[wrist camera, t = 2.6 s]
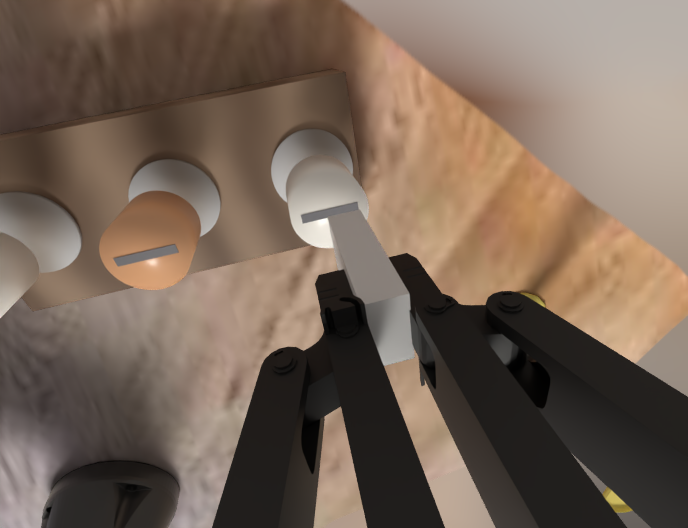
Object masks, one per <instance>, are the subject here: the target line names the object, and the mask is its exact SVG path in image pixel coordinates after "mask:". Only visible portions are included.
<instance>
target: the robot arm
mask: <svg viewBox="0 0 688 528" xmlns="http://www.w3.org/2000/svg"><path fill="white" fill-rule="evenodd" d="M327 218H328V222H329V227H330V232H331V237H332V242H333V247H334V252H335V257H336V262H337V267H338V271H334V272H330V273H326V274H322V275H319V276H318V278H317V281H316V283H315V286H316V290H317V295H318V300H319V304H320V309H321V312H320V315H321V319H322V323H323V327H324V333H323V335H322V337H321V338H320V340H319V341H318V342H317V343H316V344H314V345H313V346H311V347H310V348H308V349H306V350H304V351H303V350H301V349H299V348H297V347H285V348H280V349H278V350H276V351H274V352H272V353H271V354H270V355H269V356H268V357H267V358H266V359H265V360H264V362H263V364H262V366H261V369H260V372H259V376H258V379H257V382H256V386H255V389H254V392H253V395H252V399H251V402H250V405H249V408H248V412H247V415H246V418H245V422H244V425H243V428H242V431H241V435H240V438H239V441H238V444H237V448H236V451H235V454H234V458H233V461H232V464H231V467H230V471H229V474H228V477H227V480H226V484H225V487H224V490H223V494H222V497H221V500H220V503H219V507H218V510H217V513H216V516H215V520H214V523H213V526H212V528H313V526H314V517H315V507H316V497H317V487H318V478H319V468H320V458H321V449H322V439H323V429H324V420H325V419H324V416H326V415H327V414H329V413H331V412H332V411H334V410H335V409H337V408H339V407H340V406H341V408H342V413H343V417H344V422H345V427H346V431H347V436H348V440H349V445H350V450H351V454H352V459H353V463H354V468H355V473H356V477H357V482H358V486H359V491H360V496H361V500H362V505H363V509H364V513H365V518H366V523H367V528H445V527H444V524H443V521H442V519H441V516H440V513H439V511H438V508H437V506H436V503H435V500H434V498H433V495H432V492H431V490H430V487H429V484H428V482H427V479H426V476H425V474H424V471H423V468H422V466H421V463H420V460H419V458H418V455H417V453H416V450H415V447H414V445H413V442H412V439H411V437H410V434H409V431H408V429H407V426H406V423H405V421H404V418H403V416H402V413H401V410H400V408H399V405H398V402H397V400H396V397H395V394H394V392H393V389H392V386H391V384H390V381H389V379H388V376H387V373H386V371H385V368H384V366H386V365H390V364H393V363H397V362H401V361H405V360H409V359H412V358H415V357H414V349H415V351H416V353H417V355H418V357H419V368H420V381H421V386H423V385H425V381H426V383H427V385H428V387H429V389H430V391H431V393H432V395H433V398H434V400H435V402H436V404H437V406H438V408H439V410H440V412H441V414H442V416H443V418H444V421H445V423H446V425H447V427H448V429H449V431H450V433H451V435H452V437H453V439H454V441H455V444H456V446H457V448H458V450H459V452H460V454H461V456H462V458H463V460H464V462H465V464H466V467H467V469H468V471H469V473H470V475H471V477H472V479H473V481H474V483H475V485H476V487H477V489H478V491H479V493H480V496H481V498H482V500H483V502H484V504H485V506H486V508H487V510H488V513H489V515H490V517H491V519H492V521H493V523H494V525H495V527H496V528H627V527H626V526H625V524H624V523H623V522H622V520H621V519H620V518H619V516H618V515H617V514H616V512H615V511H614V510H613V508H612V507H611V506H610V504H609V503H608V502H607V500H606V499H605V498H604V496H603V495H602V494H601V492H600V491H599V490H598V488H597V487H596V486H595V484H594V483H593V482H592V480H591V479H590V478H589V476H588V475H587V474H586V472H585V471H584V470H583V468H582V467H581V466H580V464H579V463H578V462H577V460H576V459H575V458H574V456H576V458H578V459H579V460H580V461H581V462H582V463H583V464H584V465H585V466H586V467H587V468H588V469H589V470H590V471H591V472H593V473H594V474H595V475H596V476H597V477H598V478H599V479H600V480H601V481H602V482H603V483H604V484H605V485H606V486H607V487H608V488H610V489H611V490H612V491H613V492H614V493H615V494H616V495H617V496H618V497H619V498H620V499H621V500H622V501H623V502H625V503H626V504H627V505H628V506H629V507H630V508H631V509H632V510H633V511H634V512H635V513H636V514H637V515H638V516H639V517H641V518H642V519H643V520H644V521H645V522H646V523H647V524H648V525H649V526H650V527H651V528H688V397H687V396H686V395H684V394H682V393H681V392H679V391H678V390H676V389H674V388H673V387H671V386H669V385H668V384H666V383H665V382H663V381H661V380H660V379H658V378H657V377H655V376H654V375H652V374H650V373H649V372H647V371H646V370H644V369H642V368H641V367H639V366H638V365H636V364H634V363H633V362H631V361H630V360H628V359H626V358H625V357H623V356H622V355H620V354H618V353H617V352H615V351H614V350H612V349H610V348H609V347H607V346H606V345H604V344H602V343H601V342H599V341H598V340H596V339H594V338H593V337H591V336H590V335H588V334H586V333H585V332H583V331H582V330H580V329H578V328H577V327H575V326H574V325H572V324H570V323H569V322H567V321H566V320H564V319H562V318H561V317H559V316H558V315H556V314H554V313H553V312H551V311H550V310H548V309H546V308H545V307H543V306H542V305H540V304H538V303H537V302H535V301H534V300H532V299H530V298H529V297H527V296H525V295H523V294H520V293H517V292H512V291H501V292H498V293H494V294H492V295H491V296H490V297H488V299H487V302H486V305H461V304H459V303H458V302H457V301H456V300H455V299H454V298H453V297H450V296H448V295H445V294H442V293H441V292H440V290H439V289H438V287H437V286H436V285H435V283H434V282H433V280H432V279H431V278H430V276H429V275H428V273H426V271H425V269H424V268H423V267H422V265H421V264H420V262H419V261H418V260H417V258H415V257H413V256H411V255H409V254H408V253H405V254H401V255H397V256H393V257H389V258H388V256H387V255H386V253H385V251H384V249H383V248H382V246H381V244H380V243H379V241H378V239H377V238H376V236H375V234H374V232H373V231H372V229H371V227H370V226H369V224H368V222H367V220H366V219H365V217H364V215H363V214H362V212H361V210H356V211H351V212H347V213H342V214H338V215H334V216H329V217H327ZM424 379H425V381H424ZM571 453H572V454H573V455H574V456H573V455H572V454H571ZM178 498H179V486H178V484H177V482H176V481H175V480H174V478H173V477H172V476H170V475H169V474H168V473H166V472H165V471H163V470H161V469H159V468H156V467H153V466H150V465H147V464H142V463H136V462H124V461H116V462H103V463H97V464H92V465H88V466H85V467H82V468H79V469H77V470H74V471H72V472H70V473H69V474H67V475H65V476H64V477H63V478H61V479H60V480H59V481H58V482H57V483H56V484H55V486H54V487H53V489H52V491H51V494H50V496H49V498H48V500H47V502H46V504H45V507H44V510H43V516H42V526H41V528H168V527H169V525H170V523H171V521H172V519H173V517H174V515H175V512H176V509H177V504H178Z"/></svg>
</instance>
